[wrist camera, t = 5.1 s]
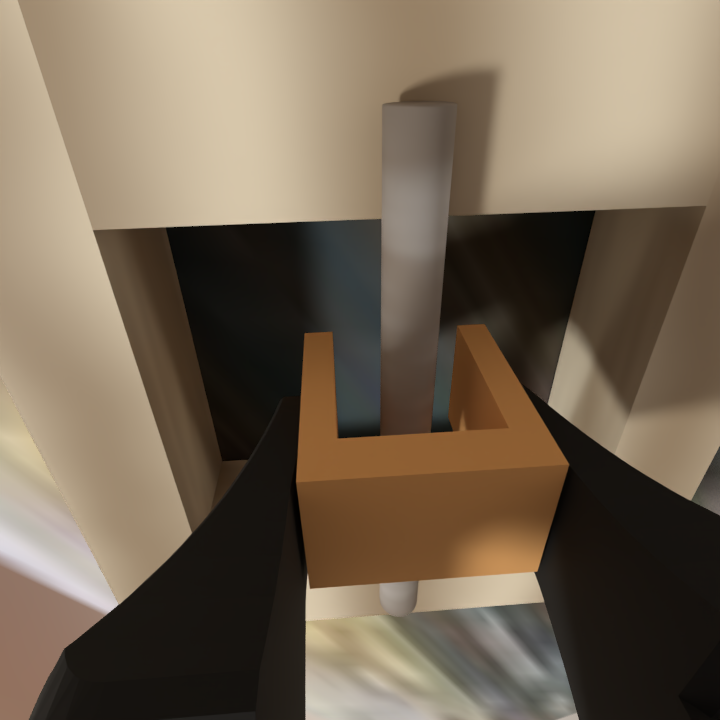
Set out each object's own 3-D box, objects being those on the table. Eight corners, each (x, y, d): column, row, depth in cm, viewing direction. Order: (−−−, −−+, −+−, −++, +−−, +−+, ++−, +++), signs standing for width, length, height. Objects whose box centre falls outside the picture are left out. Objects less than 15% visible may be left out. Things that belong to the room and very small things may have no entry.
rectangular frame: (781, -27, 11) (1087, -76, 7) (589, 506, 21) (661, 627, 16) (-41, -13, 10) (-315, -61, 6) (166, 535, 20) (122, 672, 16)
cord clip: (484, 323, 12) (568, 464, 8) (471, 415, 14) (537, 571, 10) (304, 333, 12) (296, 482, 8) (313, 424, 14) (310, 589, 10)
